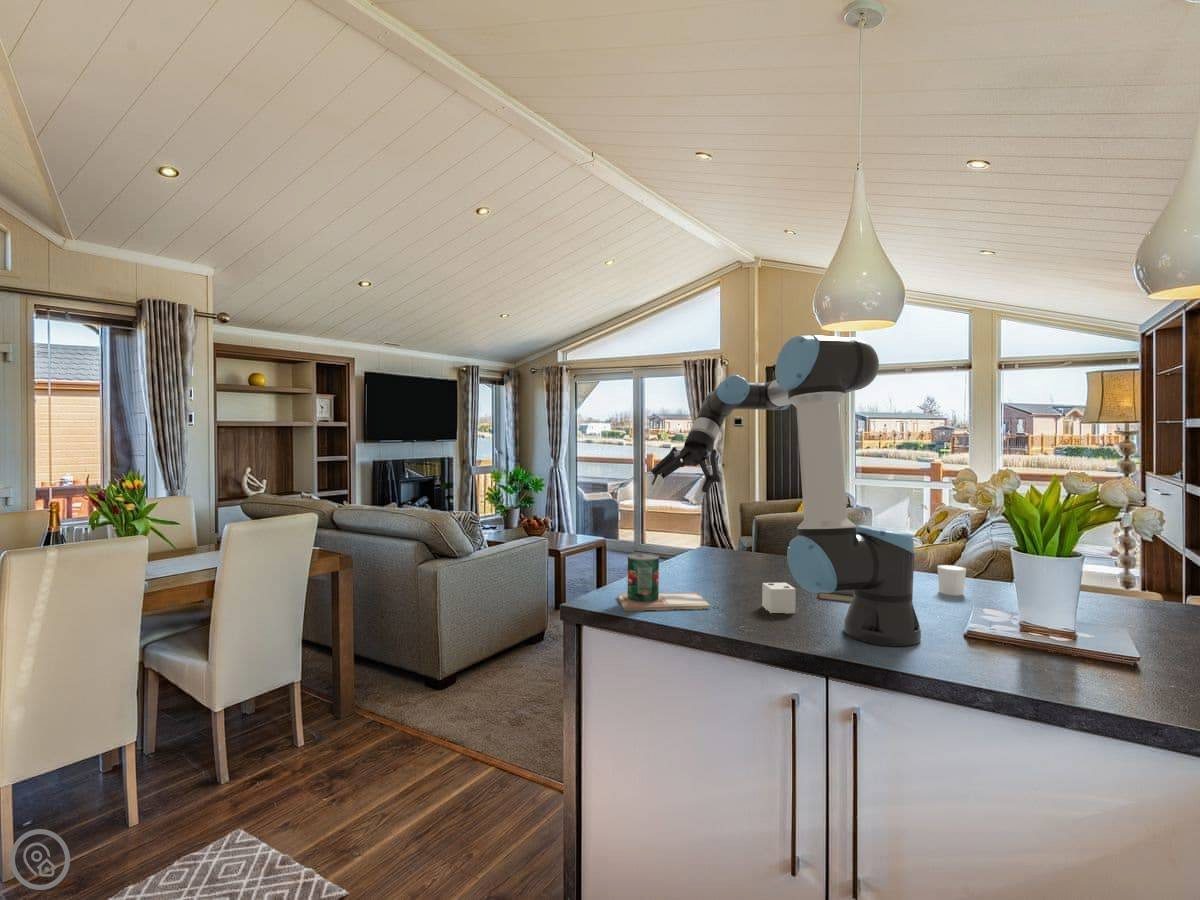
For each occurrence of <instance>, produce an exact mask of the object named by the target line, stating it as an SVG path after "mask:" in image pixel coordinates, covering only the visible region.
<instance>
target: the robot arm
mask: <svg viewBox="0 0 1200 900" xmlns="http://www.w3.org/2000/svg"><path fill="white" fill-rule="evenodd" d="M879 362H880V361H879V357H878V354H877V352H876V350H875V349H874V347H872V345H871V344H869V343H868V342H867V341H865V340H863V339H860V338H857V337H849V336H848V337H847V336H846V337H844V336H830V335H829V336H828V335H818V334H817V335H816V334H808V335H795V336H792V337H791V338H790V339H788V340H787V341H785V343H784V344H783V345H782V347H781V350H780V351H779V352H778V356H777V358H776V362H775V368H774V369H775V372H774V375H775V376H774V377H775V380H772V381H768V382H755V381H754V382H751V381H750V382H748V381H747V379H745V378H744V377H741V376H740V375H739V374H732V375H728V376H726V377H725V379H723V380H722V382H720V383H719V384H718V386H717V387H716V388H715V390H713V391H709V392H708V393H707V395H706V396H705V398H704V399H703V401H702V404H701V407H700V409H699V411H698V414H697V416H696V417H695V420H694V422H693V424H692V426H691V428H690V429H689V432H688V435H687V437H686V439H685V441H684V443H683V444H684V445H683V448H682V449H678V448H677V447H675V446H674V447H672V448H671V450H670V452H669V453H668V454H666V456H665V457H664V458H662V459H661V461H659V462H658V463H657V464H656V465H655V466H654V467H653V468H652V469H651V471H650V472H651V473H652V475H653V477H654V478H653V481H652V483H651V485H652V487H651V489H650V491H649V495H650V497H651V498H652V500H656V499H657V498H658V495H659V493H660V491H661V489H662V487H663V484H664V483H665V478H667V477H668V476H669V475H671V474H672V473H674V472H675V471H677V470H679V468H684V467H685V466H686V467H688V466H693V467H697V466H698V465H699V466H700V469H701V470H702V472H703V473H702V474H704V477H702V478H701V480H700V482H699V485H698V487H697V489H696V492H695V494H694V496H693V499H694V501H695V502H696V504H697V505H701V503H702V501H703V499H704V496H705V494H707V493H709V491H710V488H711V486H712V484H713V483H720V482H721V476H720V469H719V463H718V461H719V458H720V455H719V454H718V451H717V449H716V448H714V449H713V447H714V445H715V442H716V440H717V438H718V435H719V433H720V430H721V428H722V426H723V425H724V421H725V420H726V419H727V418H728V416H730V415H731V414H732V412H734V411H735V410H754V411H755V410H760V411H761V410H763V411H765V410H767V411H782V410H788V408H789V407H790V406H791V405H793V406H794V407H795V408H796V420H797V434H798V448H799V463H800V464H799V465H800V475H801V476H800V477H801V479H800V480H801V491H802V492H801V493H802V505H803V509H802V510H803V520H802V522H800V524H799V525H798V526H797V527H796V528H797V535H796V536H795V537H793V538H791V540H790V541H789V544H788V545H789V546H787V552H786V557H787V558H786V559H787V565H788V567H789V570H790V573H791V574H792V577H793V579H794V580H795V581H796V582H797V584H798V585H799V586H800V587H801V588H802V589H803V590H805V591H807V592H809V593H817V594H818V593H819V592H823V593H832V592H835V591H848V590H854V594H853V599H852V601H851V602H850V605H849V607H848V610H847V612H846V616H845V617H844V620H843V621H844V623H843V627H844V628H843V630H844V631H843V632H844V633H845V634H846V635H847V636H849V637H850V638H852V639H855V640H857V641H861V642H864V643H868V644H871V645H872V644H873V645H876V646H877V645H879V646H886V647H910V646H914V645H915V646H916V645H917V644H919V643H920V642H921V639H922V635H921V634H922V631H921V630H922V629H921V626H920V623H919V620H918V616H917V613H916V610H915V607H914V604H913V595H914V591H913V590H914V573H915V572H914V571H915V570H914V568H915V565H914V564H915V555H916V553H915V548H914V547H915V544H914V538H913V536H912V535H911V534H909V533H907V532H906V531H905V532H904V531H900V530H896V529H892V528H891V529H890V528H886V527H877V526H871V525H862V524H860V525H859V524H858V525H856V524H855V523H854V522H853V521H851V519H849V518H848V512H847V511H848V509H847V508H848V507H847V497H846V496H847V495H846V481H845V470H844V468H845V467H844V454H843V444H842V443H843V442H842V429H841V419H840V418H841V416H840V403H841V402H842V401H843V400H844V398H846V396H847V395H846V393H850V392H854V391H855V392H856V391H859V390H862V389H865V388H866V387H867V386H870V384H871V383H873V381H874V380H875V378H877V375H878V372H879V369H880V368H879V367H880V363H879ZM708 459H710V464H711V465H710V466H711V472H712V475H711V474H710V472H709V470H708V468H707V466H706V464H705V462H704V461H706V460H708Z"/></svg>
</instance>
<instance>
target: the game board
mask: <svg viewBox="0 0 1200 900" xmlns="http://www.w3.org/2000/svg"><path fill="white" fill-rule="evenodd" d="M627 597H628V593H618V594H617V598H618V600H619V602H620V604H621V606H622V608H623V610H624V612H644V610H656V611H674V610H673V609H678V610H677V611H680V610H679V609H693V610H706V609H705V608H710V609H711V604H710V603H709V602H707V600H706V599H705V598H704V597H702V595H701V594H700V593H699V592H694V591H693V592H691V591H690V592H662V593H661V592H659V595H658V598H659V600H658V601H657V602H655V603H649V604H640V603H634V602H630V601H629V600H628V599H627ZM703 608H704V609H703ZM670 609H671V610H670Z"/></svg>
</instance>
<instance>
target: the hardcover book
mask: <svg viewBox="0 0 1200 900" xmlns="http://www.w3.org/2000/svg"><path fill="white" fill-rule="evenodd" d="M853 594H854V590H848V591H835V592H832V593H823V592H819V593H817V598H818V599H823V600H825V599H826V600H833V601H840V602H841V601H843V602H849V603H851V601H852V599H853Z"/></svg>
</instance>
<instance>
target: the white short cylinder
mask: <svg viewBox="0 0 1200 900" xmlns="http://www.w3.org/2000/svg"><path fill="white" fill-rule="evenodd" d="M966 574H967V568H966V567H965V566H964V567H963V566H959V565H953V564H939V565H937V578H938V592H939V593H940V594H943V595H947V596H959V597H960V596H962V595H964V589H965V581H966Z"/></svg>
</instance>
